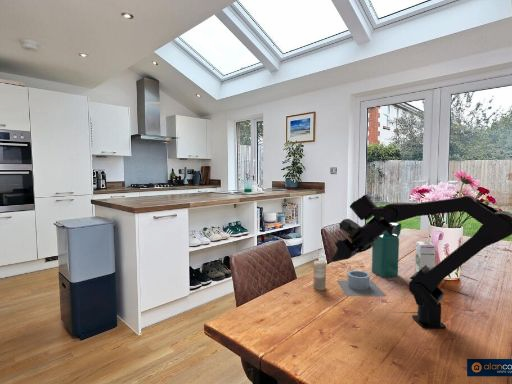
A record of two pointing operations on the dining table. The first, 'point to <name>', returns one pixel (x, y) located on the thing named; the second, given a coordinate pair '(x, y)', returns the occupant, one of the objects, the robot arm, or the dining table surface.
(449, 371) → the dining table surface
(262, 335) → the dining table surface
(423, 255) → the syrup box
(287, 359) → the dining table surface
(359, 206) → the robot arm
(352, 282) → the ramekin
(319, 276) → the stopper
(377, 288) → the mat
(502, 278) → the dining table surface
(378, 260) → the green bottle
